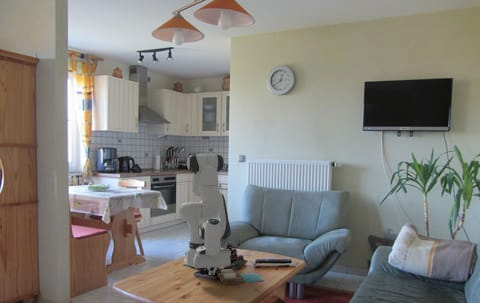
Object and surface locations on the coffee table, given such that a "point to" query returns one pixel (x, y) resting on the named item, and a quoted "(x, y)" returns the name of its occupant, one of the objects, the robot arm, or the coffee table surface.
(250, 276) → the teal mat
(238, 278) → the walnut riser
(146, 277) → the coffee table surface
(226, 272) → the birch tile
